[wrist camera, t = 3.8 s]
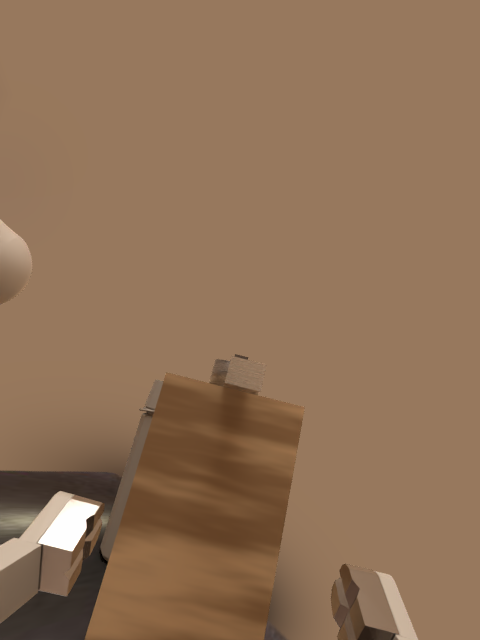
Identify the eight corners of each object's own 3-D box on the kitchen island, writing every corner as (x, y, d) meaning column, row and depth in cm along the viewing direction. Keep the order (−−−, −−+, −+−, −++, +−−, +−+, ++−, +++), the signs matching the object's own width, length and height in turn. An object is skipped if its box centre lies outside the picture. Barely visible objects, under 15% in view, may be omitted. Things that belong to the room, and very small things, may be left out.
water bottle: (160, 563, 42) (205, 392, 49) (108, 577, 37) (167, 382, 44) (131, 532, 49) (174, 384, 55) (83, 540, 44) (137, 375, 50)
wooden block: (242, 758, 22) (304, 407, 29) (62, 712, 22) (166, 372, 29) (235, 632, 33) (280, 403, 40) (117, 602, 33) (182, 378, 40)
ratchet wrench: (287, 398, 19) (299, 336, 20) (197, 376, 19) (214, 315, 20) (254, 396, 38) (261, 365, 39) (209, 385, 38) (217, 353, 39)
